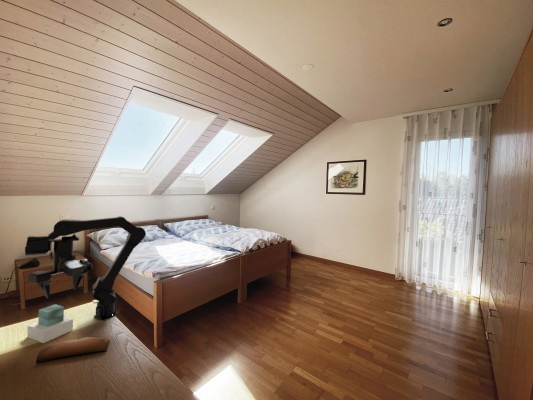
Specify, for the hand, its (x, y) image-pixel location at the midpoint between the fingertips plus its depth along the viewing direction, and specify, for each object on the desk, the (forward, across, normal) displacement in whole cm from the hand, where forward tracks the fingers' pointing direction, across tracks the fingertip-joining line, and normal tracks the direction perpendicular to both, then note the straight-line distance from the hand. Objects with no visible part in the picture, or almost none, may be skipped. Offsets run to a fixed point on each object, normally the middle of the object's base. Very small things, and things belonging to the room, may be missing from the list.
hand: (62, 293), depth 93 cm
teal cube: (+8, -5, -3) cm, 10 cm away
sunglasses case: (+13, -7, -21) cm, 26 cm away
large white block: (+12, -5, -3) cm, 13 cm away
